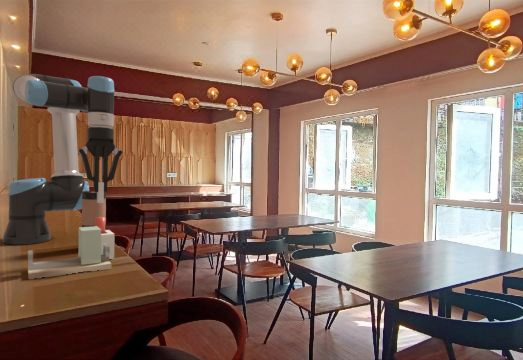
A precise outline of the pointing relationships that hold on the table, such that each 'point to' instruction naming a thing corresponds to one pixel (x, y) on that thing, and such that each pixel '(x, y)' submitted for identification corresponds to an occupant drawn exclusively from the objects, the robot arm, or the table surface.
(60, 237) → the table surface
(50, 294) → the table surface
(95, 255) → the carriage
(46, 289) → the table surface
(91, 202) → the travel mug
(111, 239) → the hollow box
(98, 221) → the button
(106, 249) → the rail
